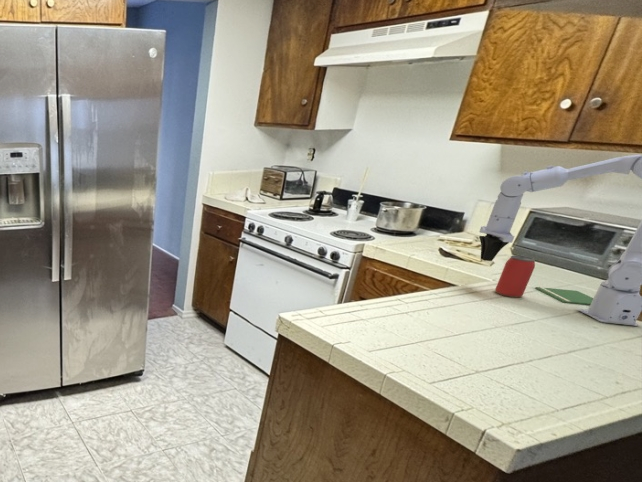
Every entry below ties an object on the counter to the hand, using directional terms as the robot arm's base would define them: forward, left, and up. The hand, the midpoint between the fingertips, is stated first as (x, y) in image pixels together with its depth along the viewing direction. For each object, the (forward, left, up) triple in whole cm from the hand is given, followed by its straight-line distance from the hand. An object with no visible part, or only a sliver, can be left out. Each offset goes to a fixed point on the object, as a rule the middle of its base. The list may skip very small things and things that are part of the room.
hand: (486, 260), depth 147 cm
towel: (+4, -27, -10) cm, 29 cm away
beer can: (0, -9, -11) cm, 14 cm away
